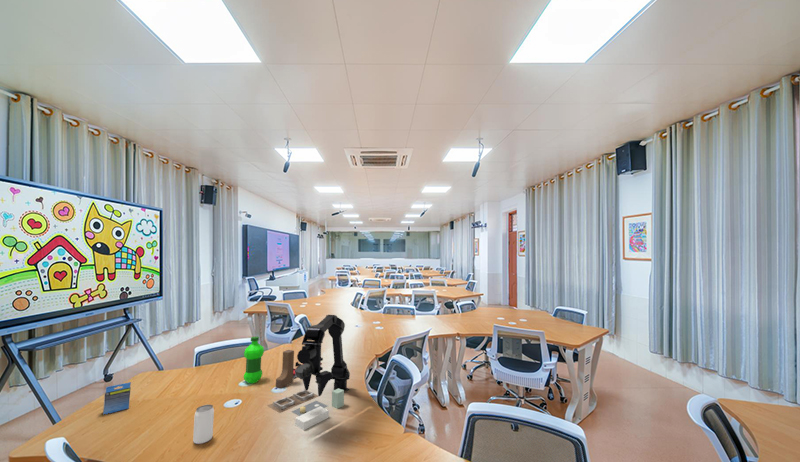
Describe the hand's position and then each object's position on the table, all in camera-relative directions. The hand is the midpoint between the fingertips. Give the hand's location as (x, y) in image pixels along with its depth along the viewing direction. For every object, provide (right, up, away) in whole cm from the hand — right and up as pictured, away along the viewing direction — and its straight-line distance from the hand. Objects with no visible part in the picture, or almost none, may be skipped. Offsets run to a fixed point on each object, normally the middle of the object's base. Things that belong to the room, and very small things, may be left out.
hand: (313, 392), depth 134 cm
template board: (-4, -14, +10) cm, 17 cm away
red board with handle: (-25, -19, +60) cm, 68 cm away
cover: (0, -13, -1) cm, 13 cm away
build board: (-15, -14, +18) cm, 27 cm away
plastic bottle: (-47, -16, +43) cm, 66 cm away
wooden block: (-27, -16, +39) cm, 50 cm away
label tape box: (-95, -13, +9) cm, 96 cm away
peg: (+8, -14, +13) cm, 21 cm away
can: (-40, -12, -13) cm, 44 cm away
